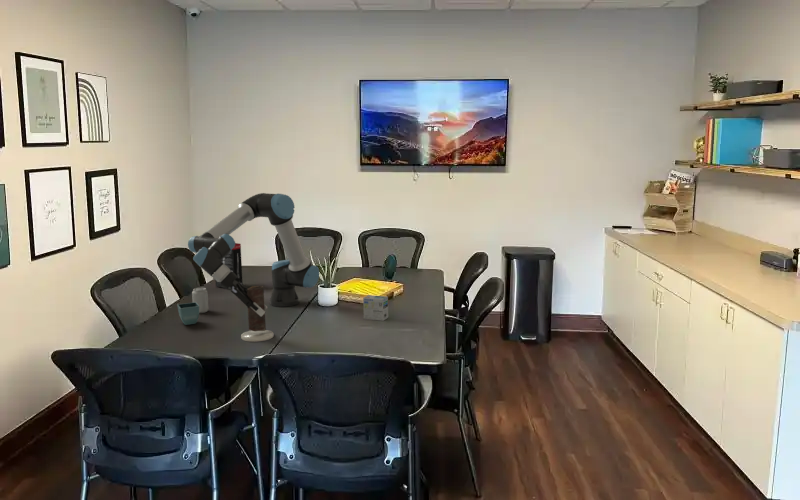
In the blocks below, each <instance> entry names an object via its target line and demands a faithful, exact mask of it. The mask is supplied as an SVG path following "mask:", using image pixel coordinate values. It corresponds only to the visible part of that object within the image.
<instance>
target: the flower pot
mask: <svg viewBox="0 0 800 500" xmlns="http://www.w3.org/2000/svg"><path fill="white" fill-rule="evenodd" d="M176 306H177V311H178V315H179V318H180V320H181V321H182V323H183V324H184V325H185V326H187V325H195V324H197V322H198V320H199V317H200V313H199V305H198V304H197V303H196V302H193V301H192V302H186V303H179V304H178V303H177V304H176Z"/></svg>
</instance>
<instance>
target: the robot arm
mask: <svg viewBox="0 0 800 500" xmlns="http://www.w3.org/2000/svg"><path fill="white" fill-rule="evenodd" d="M294 213H295V203H294V201H293V199H292V197H290V195H288V194H284V193H266V192H261V193H257V194H255V195H252V196H250V197H248V198H247V199H245V200H243V201H242V202H241V203H239V204H238V206H237V208H236V209H235V210H233V211H232V212H231V213H230V214H228V215H226V216H224V218H222V219H221V220H220V221H219V222H216V224H214V225H213V226H211V227H210V228H209V229H207V230H206V231H205V232H203V233H202V234H200V235H194V236H191V237H190V238H189V240H188V242H187V246H188V247H187V248H188V250H189V251H190V252H192V253H195V254H194V256H193V258H192V259H193V262H195V263H196V265H197V266H199V267H200V268H201V269H202V270H203V271H205V273H207V274H208V275H209V276H210V277H211V278H212V280H213V281H215V282H216V281H217V282H220V285H221V286H223V287H224V288H223V289H225V290H227V288H228V286H229V287H230V288H231V289H230V293H232V294H234V295H235V296H236V298H238V299H239V300H240V301H241V302H242V304H244V305H245V306H246V308H247V309H248V308H249V307H251V308H252V309H253V310H254V311H255V312H256V313H257V314H258V315H260V316H261V317H262V316H263V315H264V313H265V314H266V310H267V309H268V306H267V305H266V304H264V307H265V311H264V310H263V309H262V308H261V307H259V306H258V305H257V304H256V303H255V302H253V301H252V300H251V299H250V298H249V297H248V296H247V289H248V287H247V286H246V285H245V284H242V283H241V282H240V281H239V282H237V281H236V280H235V279H236V278H237V275H236V274H235V273H233V272H232V271H231V272H230V269H229V268H228V267H227V266H226V265H225V264H223V263H222V262H221V260H222V259H223V258H224V257H225V256H226V255H227V254H228V253H229V252H230V251H231V250H232V249H233V248H234V246H235V243H236V241H235V239H234V238H233V236H231V234H232V233H234V232H235V231H237V230H238V229H239V228H240V227H241V226H243V225H244V224H245V223H247V222H251V221H253V220H254V219H256V218H267V219H268V220H269V223H270V225H271V226H274V227H275V229H276V232H277V235H278V237H279V240H280V242H281V245H282V246H283V249H284V252H285V255H286V258H287V259H282V260H277V261H274V262H273V263H272V264H271V279H272V281H271V282H272V291H271V295H270V298H269V305H270V306H273V307H277V308H279V307H283V308H284V307H292V306H297V305H298V304H299V303H300V298H299V295H298V292H297V291H296V290H297V289H296V287H300V288H301V287H302V288H305V289H307V288H313V287H315V286H316V284H317V283H318V281H319V278H320V269H319V267H318V266H317V265H315V264H312V261H311V259H310V258H309V257H307V256H306V253H305V251H304V249H303V247H302V244H301V241H300V238H299V235H298V233H297V231H296V227H295V226H294V223H293V218H294ZM222 264H223V265H222ZM221 265H222V266H221ZM220 266H221V267H220Z"/></svg>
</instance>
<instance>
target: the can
mask: <svg viewBox="0 0 800 500" xmlns="http://www.w3.org/2000/svg"><path fill="white" fill-rule="evenodd" d="M208 292H209V291H208V290H207V288H206V287H195V288H193V290H192V292H191V296H192V298H191V300H192V303H193V302H196V303H197V304H198V305H199V314H204V313H207V312H208V311H209V296H208Z"/></svg>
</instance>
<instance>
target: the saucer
mask: <svg viewBox="0 0 800 500" xmlns="http://www.w3.org/2000/svg"><path fill="white" fill-rule="evenodd" d="M274 335H275V334H274V332H273V331H272V330H270V329H269V330H268V329H266V331H251V330H248V331H244V332H243V333H241V335H240V339H241V340H242V341H244V342H250V343H252V342H253V343H254V342H255V343H256V342H263V341H268V340H271V339H273V338H274Z"/></svg>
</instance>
